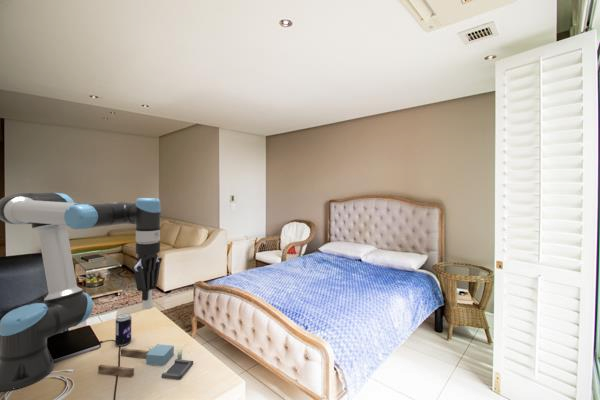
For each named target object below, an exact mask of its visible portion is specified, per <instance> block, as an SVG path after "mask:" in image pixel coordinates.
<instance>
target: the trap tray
mask: <svg viewBox="0 0 600 400" xmlns="http://www.w3.org/2000/svg"><path fill="white" fill-rule="evenodd" d="M193 365H194V360H188V359H177V358H176V359H174V362H173V364H172V366H170V367H169V368H168V370H167V371H166V372H163V373H162V374H161V378H162V379H169V380H177V381H178V380H179V381H181V380H182V378H183V377H184V376H185V375H186V374H187V372H188V371H189V370H190V369H191V368H192V367H193Z"/></svg>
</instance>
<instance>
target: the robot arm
mask: <svg viewBox="0 0 600 400" xmlns="http://www.w3.org/2000/svg"><path fill="white" fill-rule="evenodd" d="M161 208H162V207H161V200H160V199H159V198H158V197H157V198H155V197H138V198H137V199H136V201H135V202H125V201H115V202H111V203H110V202H109V203H108V202H106V203H80V202H74V200H73V198H71V196H69V195H67V194H66V193H62V192H61V193H60V192H59V193H58V192H18V193H11V194H8V195H6V196H3V197H2V198H0V221H2V222H4V223H6V224H11V225H31V229H32V230H33V231H35V232H37V233H38V238H39V243H40V244H39V245H40V251H41V255H42V256H41V257H42V264H43V267H44V274H45V278H46V279H45V280H46V285H47V290H48V291H47V292H48V294H47V295H46V297H44V299H43V300H44V303H43V302H35V303H31V304H25V305H23V306H20V307H16V308H14V309H12V310H10V311H8V312H7V313H6V314H5V315H4V316H2V318H1V319H0V392H6V391H7V392H8V391H12V390H11V389H13V388H18V389H22V388H25V387H27V386H29V385H33V384H34V383H36V382H39V381H40V380H42V379H43V378H45V377H47V376H48V375H49V374H50V373H51V372H52V371H53V369H54V358H53V357H52V355H51V353H50V350H49V349H48V338H50V337H53V336H55V335H58V334H60V333H61V332H64V331H66V330H68V329H70V328H74V327H78V325H80V324H81V323H84V322H85V321H86V320H88V319H89V317H90V315H91V314H92V312H93V299H92V297H91V296H90V294H88V293H87V292H84V291H83V288H81V287H79V286H78V285H77V278H76V272H75V267H74V266H75V265H74V262H73V256H72V255H73V254H72V250H71V244H70V238H69V234H68V233H69V232H68V228H70V229H72V230H86V229H92V228H99V227H108V226H116V225H117V226H118V225H127V224H129V225H135V242H136V244H135V254H136V255H138V258H137V264H135V265H132V266H131V269H132V270H133V273H134V278H135V279H134V280H135V286H136V289H137V291H138V292H141V300H142V307H141V308H142V309H144V310H151V309H153V296H154V295H153V294H154V290H155V289H156V288H157V287H156V286H157V285H158V282H159V275H160V268H161V263H162V260H163V257H159V255H158V253H160V252H161V242H160V240H161V212H162V209H161Z"/></svg>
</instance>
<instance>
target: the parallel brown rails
mask: <svg viewBox="0 0 600 400" xmlns="http://www.w3.org/2000/svg"><path fill="white" fill-rule="evenodd" d="M148 352H149V350H143V349H133V348H124V347H122V348H121V349H120V357H128V358H137V359H145V360H146V354H147V353H148ZM97 367H98V370H97V373H98V374H104V375H111V376H121V377H129V378H132V377H133V376H135V375H134V374H135V368H134V367H128V366H127V367H125V366H117V365H109V364H99V365H98V366H97Z"/></svg>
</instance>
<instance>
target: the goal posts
mask: <svg viewBox="0 0 600 400" xmlns="http://www.w3.org/2000/svg"><path fill="white" fill-rule="evenodd" d="M154 347H155V346H150V347H148V351H151V350H152V349H153V348H154ZM176 352H177V355H176V357H177V358H176V359H179V360H182V355H183V349H178V350H177V351H176Z"/></svg>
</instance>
